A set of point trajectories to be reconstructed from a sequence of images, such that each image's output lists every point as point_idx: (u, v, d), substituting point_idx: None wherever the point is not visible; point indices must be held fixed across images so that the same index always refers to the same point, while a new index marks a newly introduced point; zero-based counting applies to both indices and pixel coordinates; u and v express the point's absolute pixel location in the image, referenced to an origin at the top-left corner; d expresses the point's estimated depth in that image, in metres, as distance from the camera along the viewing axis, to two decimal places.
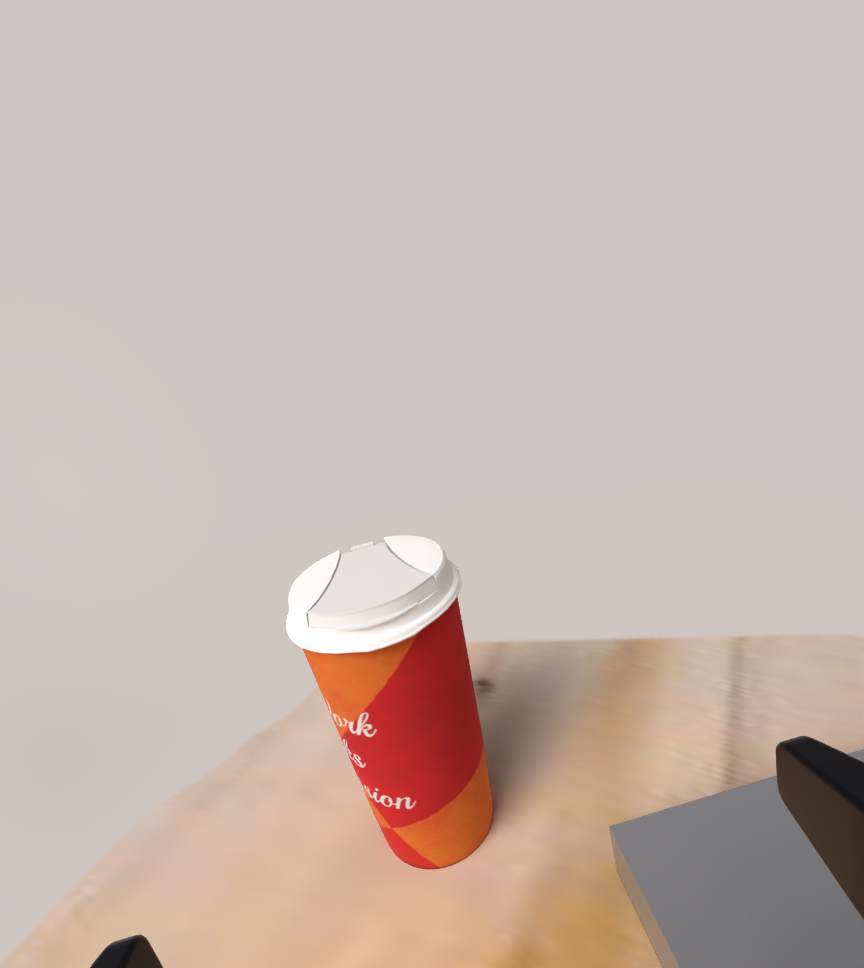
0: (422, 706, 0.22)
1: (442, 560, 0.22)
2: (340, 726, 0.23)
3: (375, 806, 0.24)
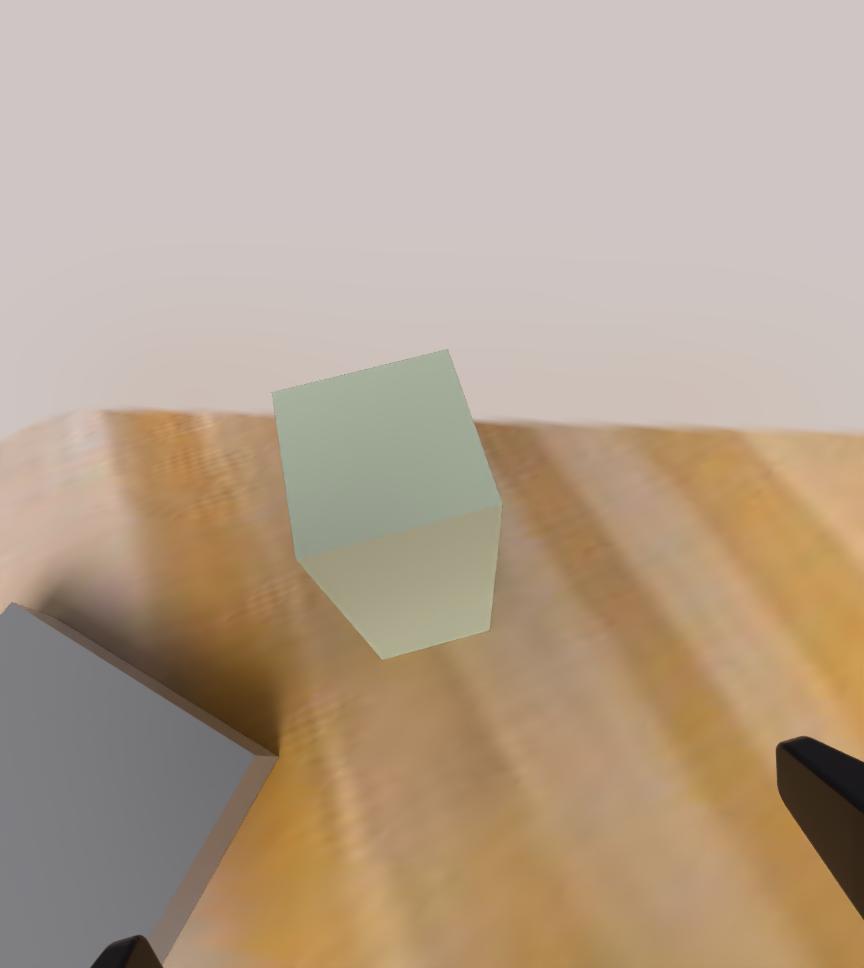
0: None
1: None
2: None
3: None
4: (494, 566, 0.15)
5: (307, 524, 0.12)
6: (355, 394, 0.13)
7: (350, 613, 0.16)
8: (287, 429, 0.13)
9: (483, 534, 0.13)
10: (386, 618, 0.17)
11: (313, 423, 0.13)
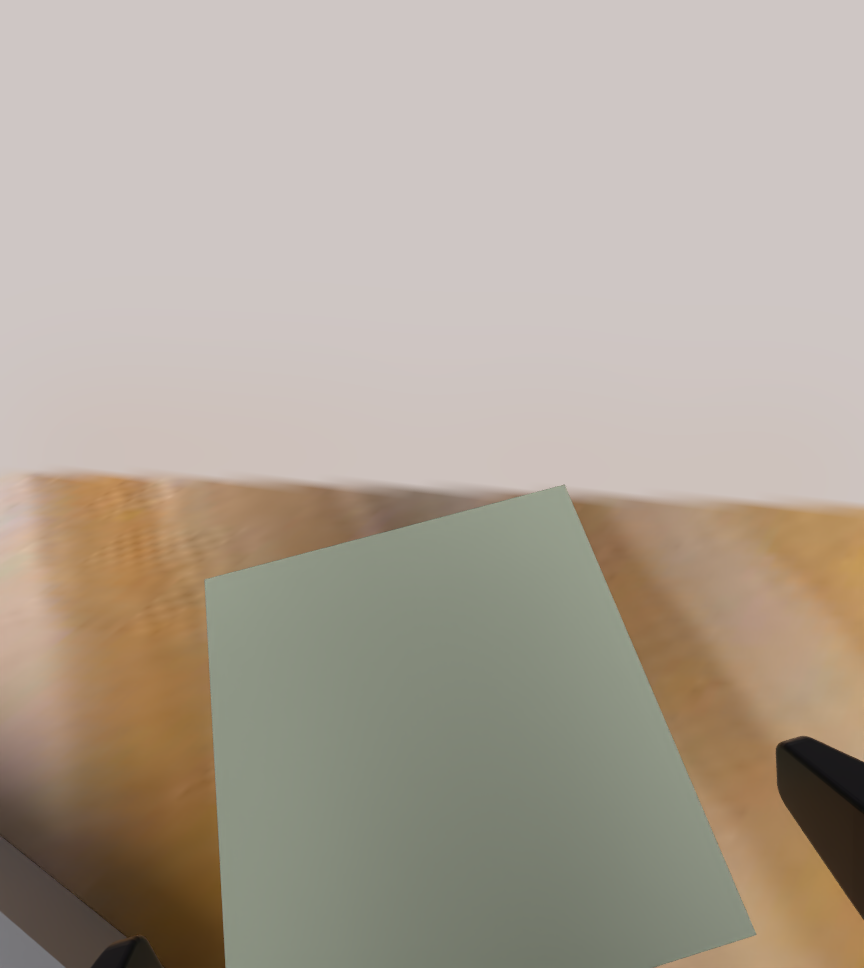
0: None
1: None
2: None
3: None
4: None
5: None
6: (379, 589, 0.06)
7: None
8: (232, 676, 0.06)
9: None
10: None
11: (288, 662, 0.06)
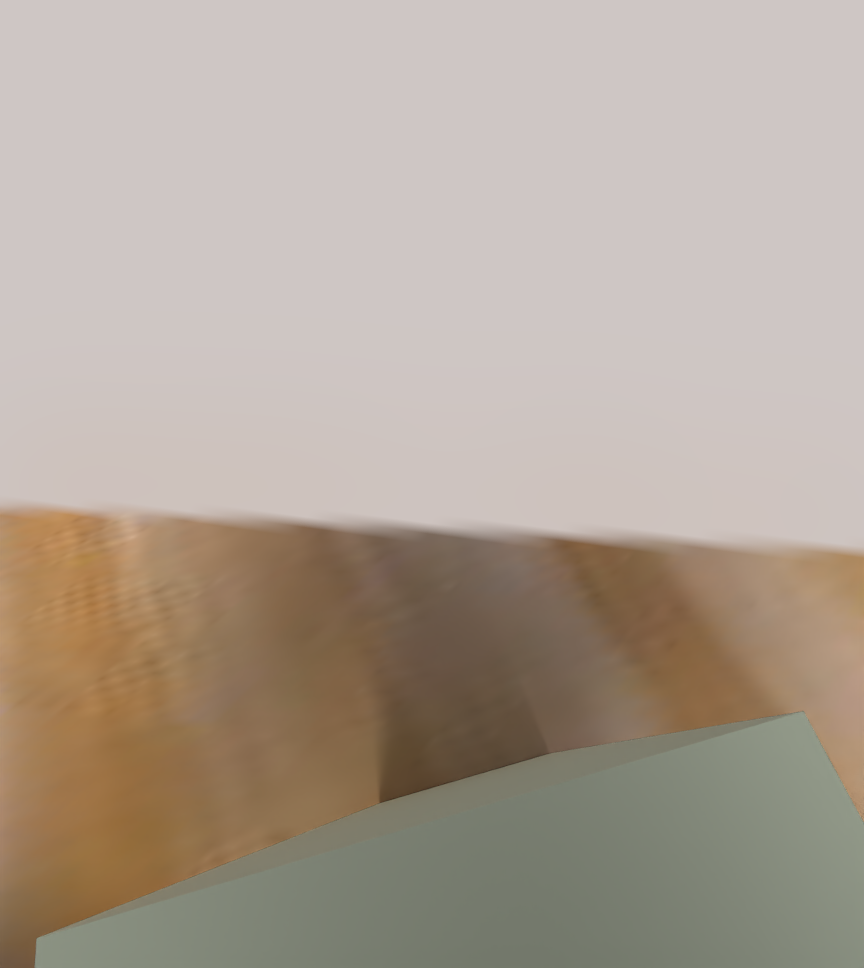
0: None
1: None
2: None
3: None
4: None
5: None
6: None
7: None
8: None
9: None
10: None
11: None
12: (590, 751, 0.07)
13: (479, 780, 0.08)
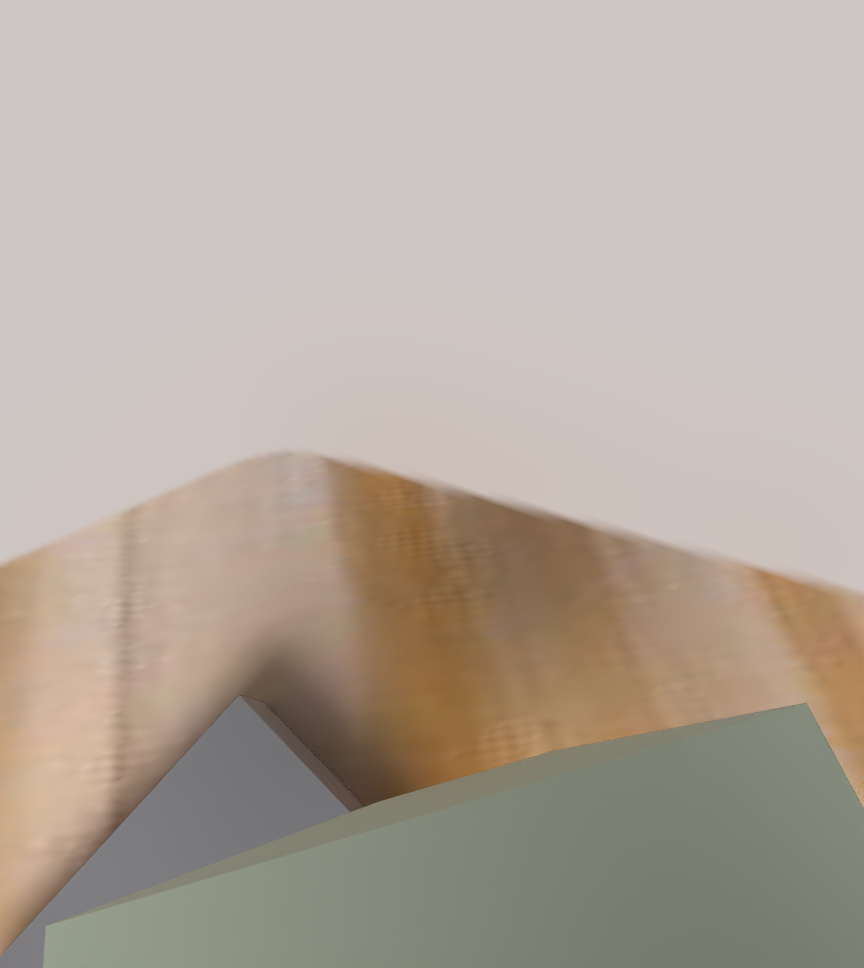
0: None
1: None
2: None
3: None
4: None
5: None
6: None
7: None
8: None
9: None
10: None
11: None
12: (592, 747, 0.07)
13: (481, 776, 0.08)
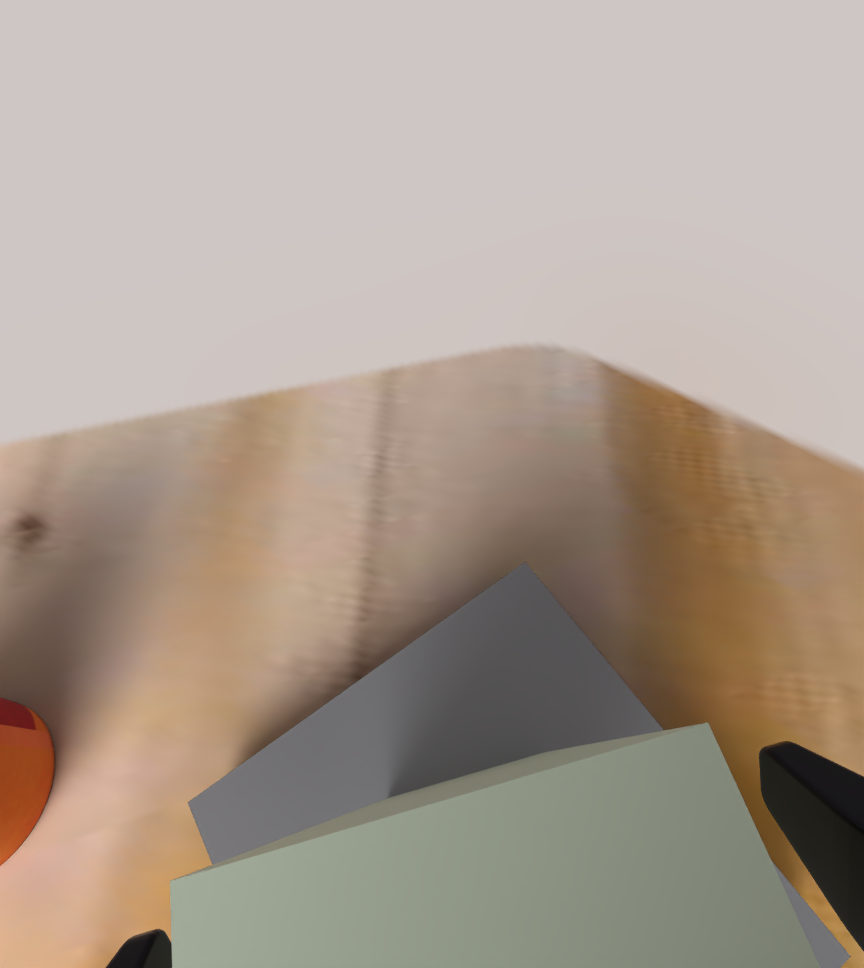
0: None
1: None
2: None
3: None
4: None
5: None
6: (438, 912, 0.04)
7: None
8: None
9: None
10: None
11: None
12: (571, 750, 0.08)
13: (478, 775, 0.10)
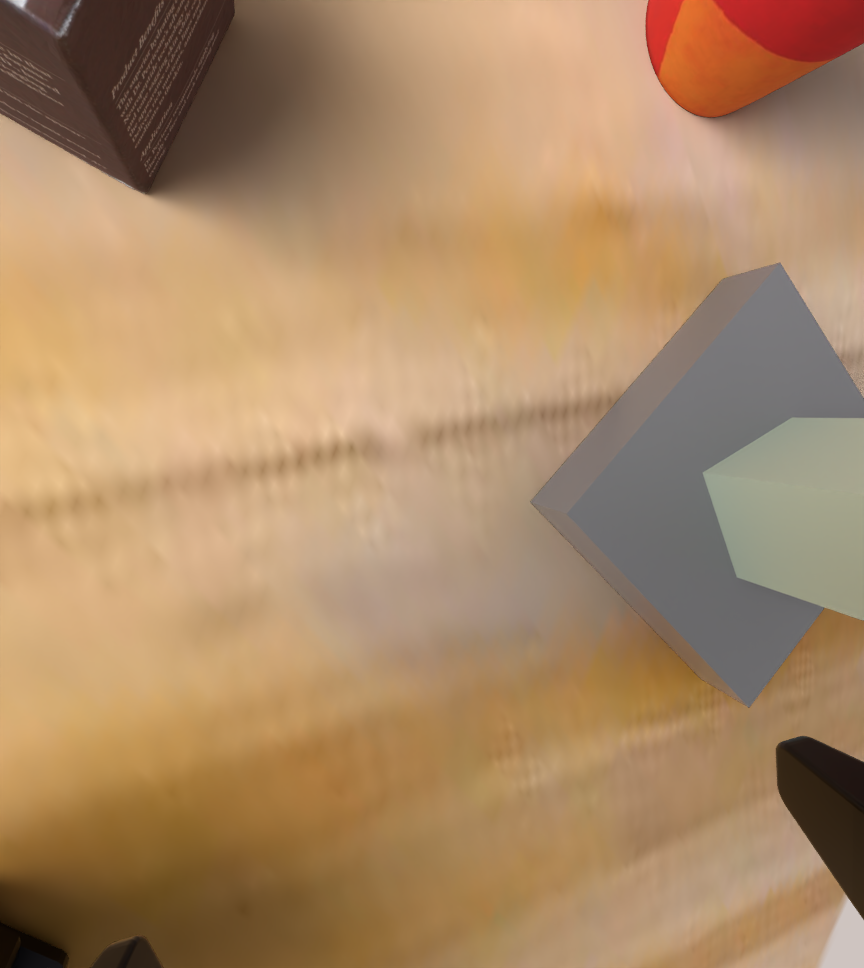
0: None
1: None
2: None
3: None
4: None
5: None
6: None
7: None
8: None
9: None
10: None
11: None
12: None
13: None
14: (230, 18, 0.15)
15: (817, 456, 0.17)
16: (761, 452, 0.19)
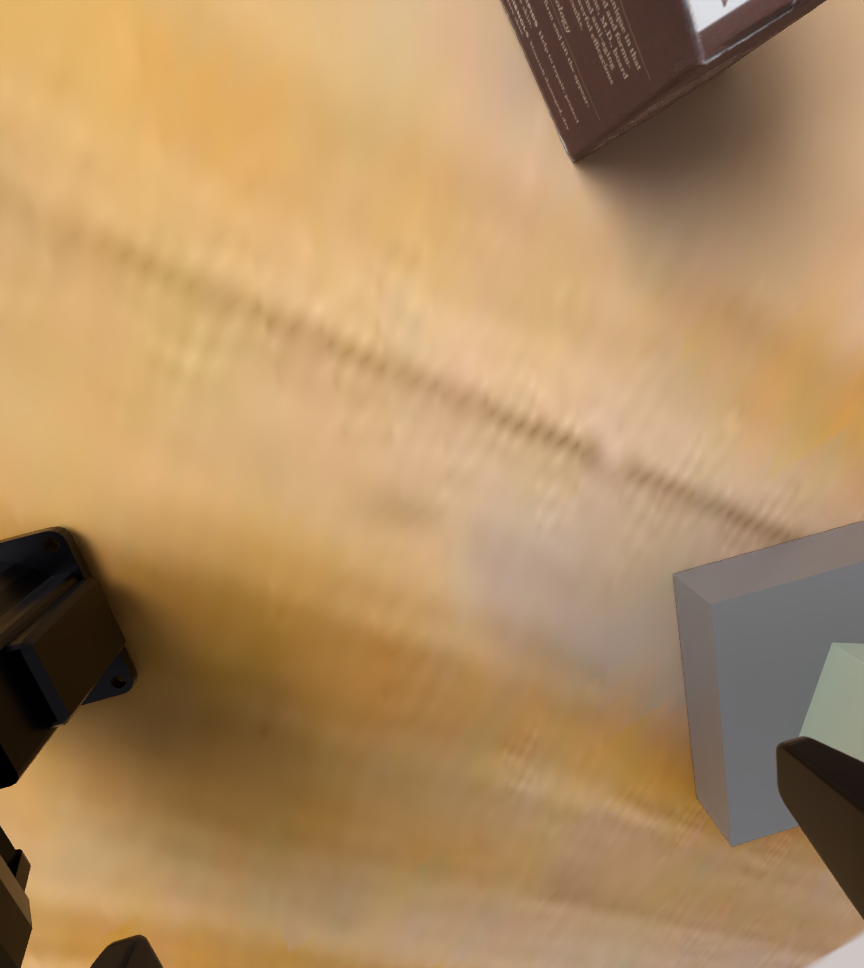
0: None
1: None
2: None
3: None
4: None
5: None
6: None
7: None
8: None
9: None
10: None
11: None
12: None
13: None
14: (729, 66, 0.17)
15: None
16: None
